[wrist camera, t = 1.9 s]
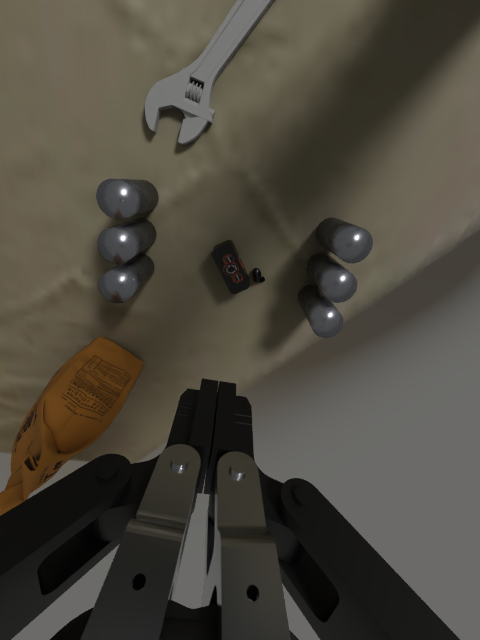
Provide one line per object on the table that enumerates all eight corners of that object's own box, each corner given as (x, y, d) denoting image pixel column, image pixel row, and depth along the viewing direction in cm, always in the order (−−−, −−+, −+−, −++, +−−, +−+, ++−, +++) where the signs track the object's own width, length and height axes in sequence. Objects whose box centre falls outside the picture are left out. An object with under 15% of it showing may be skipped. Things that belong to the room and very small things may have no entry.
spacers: (129, 177, 35) (95, 175, 27) (348, 220, 37) (378, 231, 29) (127, 276, 40) (98, 300, 32) (319, 310, 43) (337, 339, 34)
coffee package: (57, 372, 47) (-77, 509, 27) (102, 324, 44) (-15, 443, 24) (108, 406, 50) (21, 553, 30) (154, 365, 47) (89, 500, 27)
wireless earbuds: (235, 292, 42) (234, 300, 39) (212, 246, 39) (209, 251, 36) (265, 279, 41) (267, 286, 38) (243, 231, 38) (244, 235, 35)
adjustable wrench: (321, -119, 26) (327, -139, 24) (361, -42, 28) (368, -56, 26) (139, 111, 33) (134, 107, 31) (181, 159, 35) (179, 158, 33)
